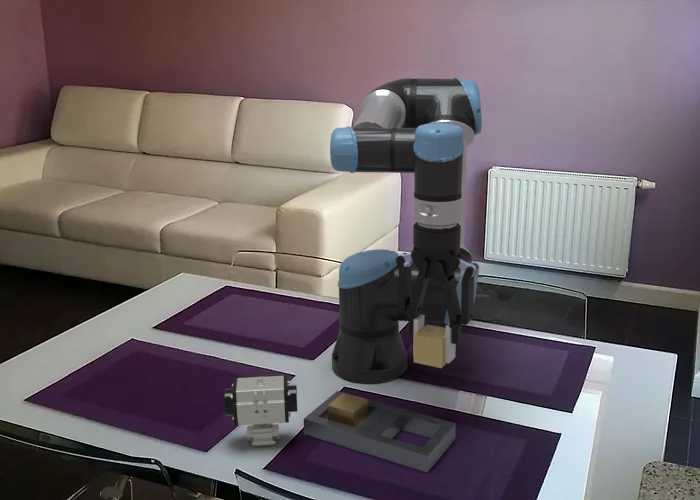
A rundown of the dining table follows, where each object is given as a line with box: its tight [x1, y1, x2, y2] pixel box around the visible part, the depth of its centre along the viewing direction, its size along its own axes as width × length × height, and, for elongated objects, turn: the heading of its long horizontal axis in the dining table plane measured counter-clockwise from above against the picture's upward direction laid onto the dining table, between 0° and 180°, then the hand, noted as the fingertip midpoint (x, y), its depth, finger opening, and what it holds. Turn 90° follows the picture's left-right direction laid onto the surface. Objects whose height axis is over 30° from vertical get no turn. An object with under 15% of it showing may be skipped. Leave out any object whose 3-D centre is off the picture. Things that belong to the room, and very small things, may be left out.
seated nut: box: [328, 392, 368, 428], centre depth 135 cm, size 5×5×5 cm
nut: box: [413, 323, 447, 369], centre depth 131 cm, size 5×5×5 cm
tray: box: [303, 390, 457, 474], centre depth 132 cm, size 23×11×3 cm, turn 60°
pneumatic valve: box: [223, 375, 298, 448], centre depth 130 cm, size 6×12×12 cm, turn 95°
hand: (434, 356), depth 132 cm, fingers closed on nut, 5 cm apart
